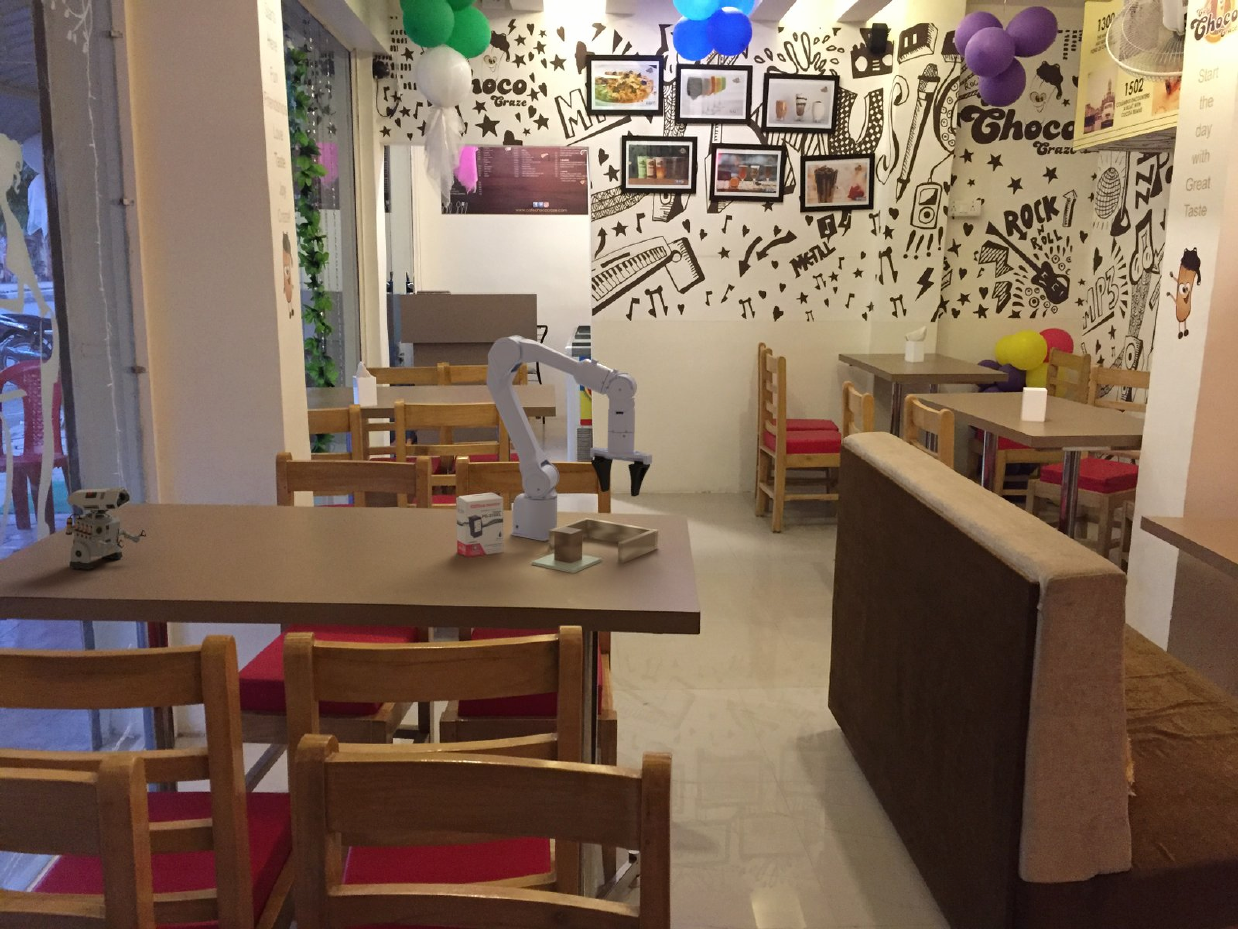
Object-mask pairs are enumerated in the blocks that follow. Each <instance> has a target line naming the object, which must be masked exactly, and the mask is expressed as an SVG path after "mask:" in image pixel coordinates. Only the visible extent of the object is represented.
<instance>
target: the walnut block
mask: <svg viewBox="0 0 1238 929" xmlns="http://www.w3.org/2000/svg"><path fill="white" fill-rule="evenodd" d="M553 551H554V552H553V553H554V560H556V561H561V562H566V563H573V562H576V561H578V560H581V559H582V555H583V539H582V530H581V529H575V528H570V527H564V528H561V529H558V530H555V531H554V550H553Z"/></svg>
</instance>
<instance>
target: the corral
mask: <svg viewBox="0 0 1238 929" xmlns="http://www.w3.org/2000/svg"><path fill="white" fill-rule="evenodd" d="M564 527H570V528H575V529H581V530H582V540H583V539H586V538H590V539H596V540H602V541H606V542H612V543H617V546H618V547H617V563H620V564H624V563H626V562H629V561H632V560H635V558H638V557H641V556H643V555H645V554H648V553H651V552H652V551H654V550H657V549H658V548H659V529H655V528H654V529H653V528H648V527H643V526H639V525H638V526H636V525H632V524H625V523H621V522H620V523H619V522H614V521H609V520H602V519H598V518H597V519H596V518H591V517H583V518H581V519H578V520H574V521H571V522H569V523H566V524H563V525H560V526H557V528H554V529H551V530H549V540H548V549H549V550H553V551H554V531H555V530H558V529H561V528H564Z"/></svg>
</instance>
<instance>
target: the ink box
mask: <svg viewBox="0 0 1238 929" xmlns="http://www.w3.org/2000/svg"><path fill="white" fill-rule="evenodd" d="M455 500H456V505H455V506H456V544H457V545H456V551H457V553H458V554H460V555H462V556H464V557H465V558H471V557H477V556H486V555H491V554H498V553H503V552H504V497H503V496H500V495H498V494H496V493H494V492H485V493H478V494H477V493H475V494H469V495H459V496H458V497H456V499H455Z"/></svg>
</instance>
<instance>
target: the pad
mask: <svg viewBox="0 0 1238 929" xmlns="http://www.w3.org/2000/svg"><path fill="white" fill-rule="evenodd" d="M602 560H603V558H602V557H597V556H591V555H585V554H582V559H581V560H578V561H576V562H573V563H566V562H561V561H556V560H554V552H553V553H550V554H548V555H545V556H542V557H541V558H537V559H535V560H532V561H531V566H532V565H534V566H538V567H542V568H546V569H552V570H557V571H562V572H566V573H571V574H575V573H577V572H579V571H581V570H584V569H586V568H589V567H591V566H593V565H597V564H599V563H601V562H602Z"/></svg>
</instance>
